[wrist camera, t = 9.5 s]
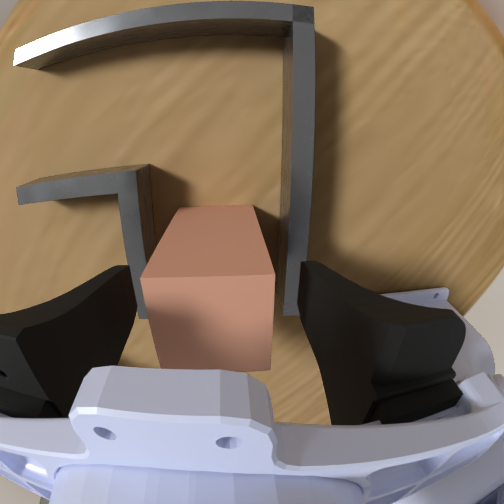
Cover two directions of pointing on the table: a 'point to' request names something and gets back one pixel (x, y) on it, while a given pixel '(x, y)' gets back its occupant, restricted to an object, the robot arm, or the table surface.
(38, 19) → the table surface
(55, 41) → the channel rails
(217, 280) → the terracotta block
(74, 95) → the table surface
